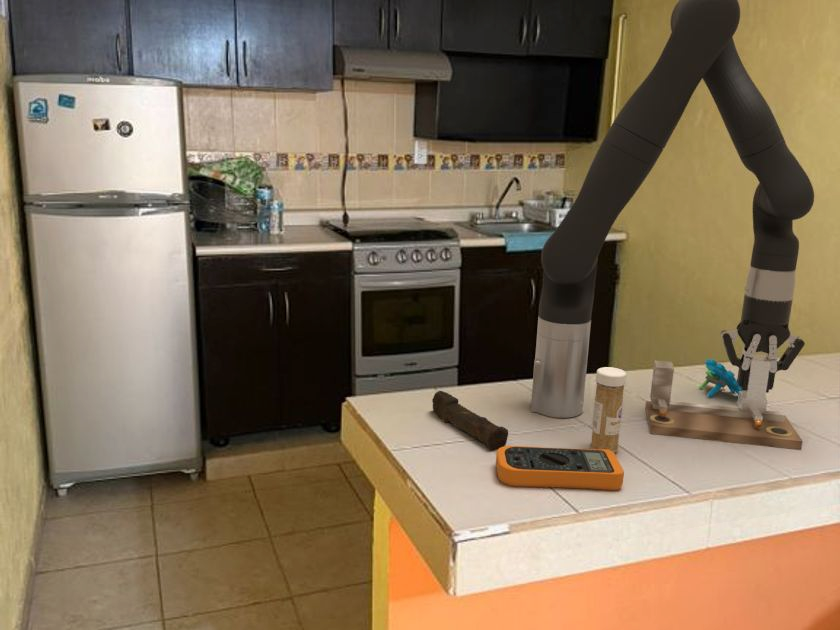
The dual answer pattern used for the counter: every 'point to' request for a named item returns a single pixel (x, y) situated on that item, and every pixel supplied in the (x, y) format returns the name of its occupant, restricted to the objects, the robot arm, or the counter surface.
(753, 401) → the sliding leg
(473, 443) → the counter surface
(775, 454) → the counter surface
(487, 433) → the dark brown rod
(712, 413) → the plate
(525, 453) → the multimeter
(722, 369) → the blue branching piece
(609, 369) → the sprinkles bottle
